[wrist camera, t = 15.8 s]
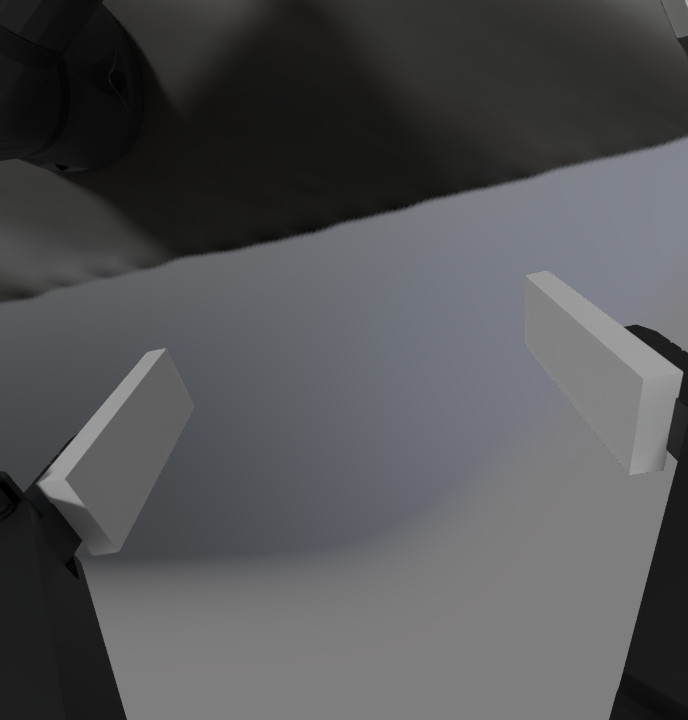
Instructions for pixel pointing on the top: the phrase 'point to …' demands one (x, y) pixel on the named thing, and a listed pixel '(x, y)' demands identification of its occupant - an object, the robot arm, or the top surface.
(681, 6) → the scale
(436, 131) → the top surface
